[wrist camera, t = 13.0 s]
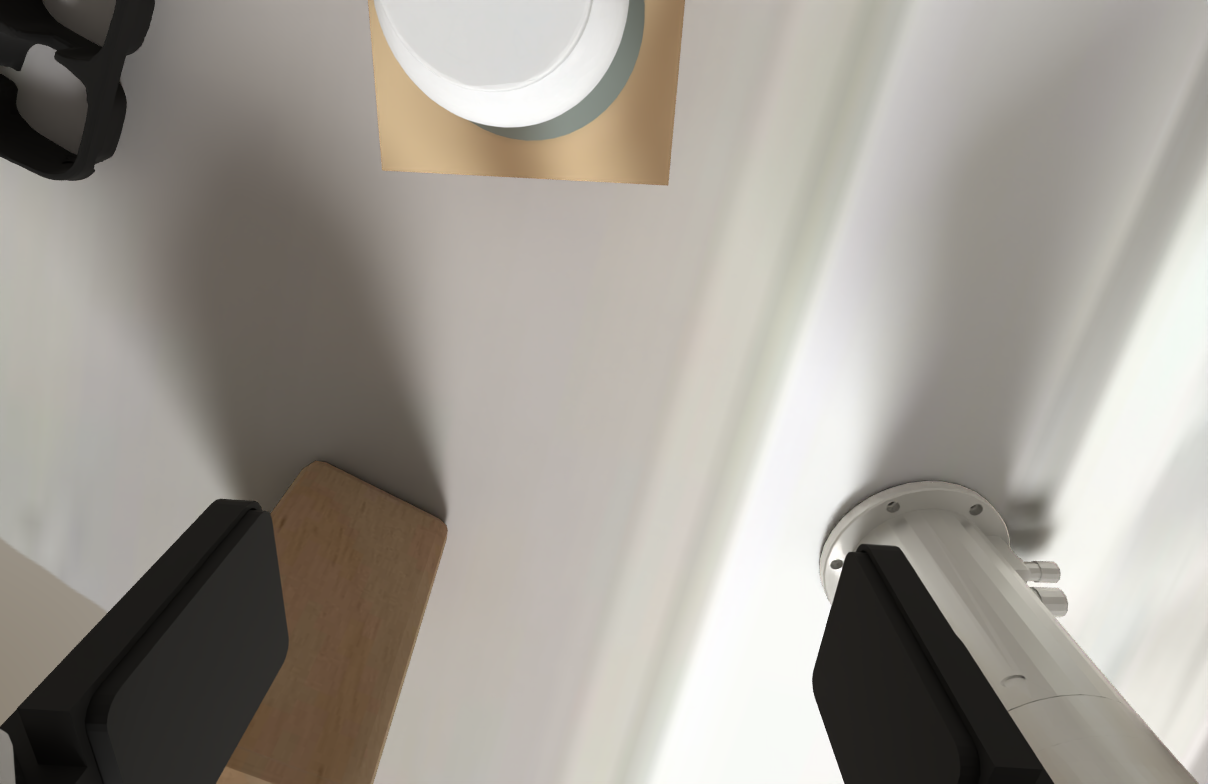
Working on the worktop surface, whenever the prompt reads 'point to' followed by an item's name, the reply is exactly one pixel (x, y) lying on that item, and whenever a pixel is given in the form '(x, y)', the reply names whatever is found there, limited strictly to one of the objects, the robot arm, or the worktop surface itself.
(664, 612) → the worktop surface
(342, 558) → the wooden block
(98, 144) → the egg carton
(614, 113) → the footstool
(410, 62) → the supplement bottle
